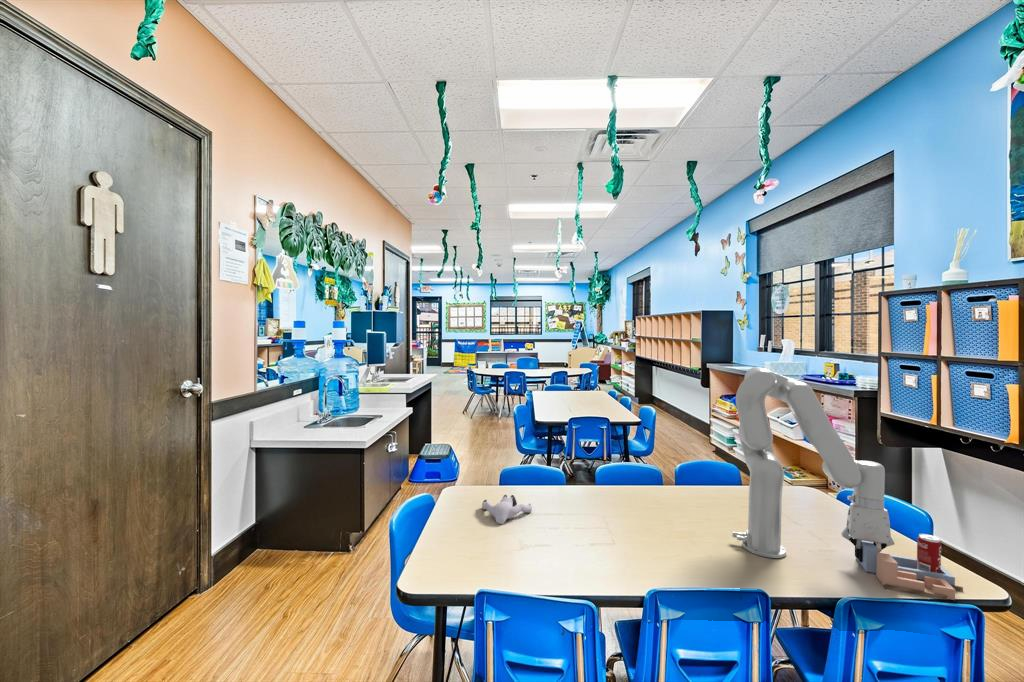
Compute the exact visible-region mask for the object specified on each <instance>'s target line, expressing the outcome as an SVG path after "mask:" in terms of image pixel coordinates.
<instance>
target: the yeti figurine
mask: <svg viewBox="0 0 1024 682" xmlns="http://www.w3.org/2000/svg"><path fill="white" fill-rule="evenodd" d="M481 508H482V509H483V510H487V511H488V513H489V515H490V516H492V517H494V518H495V523H496V524H498V525H503V524H504V523H505V522H506V521H507V520H510V519H512V518H514V517H515V516H517V515H518V514H519V513H521V512H522V513H524V514H531V512H532V511H533V510H532V505H531V503H528V504H523V503H520V504H518V502H517V499H516V497H515V495H513V494H511V495H510V496H509V497H508V495H507V494H504V495H503V497H502V498H501V500H500V501H499V502H498V503H497V504H495V505H493V504H492V503H490V502H489V501H487V499H484V500H483V502H482V503H481Z"/></svg>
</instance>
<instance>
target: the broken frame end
mask: <svg viewBox="0 0 1024 682" xmlns="http://www.w3.org/2000/svg"><path fill="white" fill-rule="evenodd" d="M924 583H925V589H931V593H936V594H941V595H946V596H947V600H953V601H956V590H955V589H954V588H953V587H952V586H951V585H950V584H949V583H948V582H947V581H945V580H944V579H939V578H934V577H928V576H924Z"/></svg>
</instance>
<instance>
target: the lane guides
mask: <svg viewBox="0 0 1024 682" xmlns="http://www.w3.org/2000/svg"><path fill="white" fill-rule="evenodd" d="M917 580H918V581H923V582H924V580H921V579H917ZM883 586H884V589H887V590H891V591H896V592H903V593H907V594H912V595H917V596H923V597H928V598H934V599H939V600H945V601H948V599H947V596H946V595H941V594H936V593H932V592H930V591H929V592H928V591H925V590H924V591H920V590H914V589H909V588H903V587H898V586H893V585H887V584H885V585H883ZM951 586H952V587H953V588H954V589H955V591H959V590H961V591H960V592H964V587H963V586H959V585H951Z"/></svg>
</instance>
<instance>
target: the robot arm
mask: <svg viewBox="0 0 1024 682" xmlns="http://www.w3.org/2000/svg"><path fill="white" fill-rule="evenodd" d="M766 397H770V398H772V399H775V400H778V401H780V402H783V403H785V404H786V405H787V406H788V408H789V410H790V412H791V414H792V416H793V417H794V419H795V421H796V423H797V425H798V427H799V429H800V430H801V432H802V434H803V436H804V437H805V438H806V440H807V441H808V442H809V444H811V445H812V447H813V448H814V449H815V450H816V451H817V453H818V455H819V456H820V457H821V459H822V460H823V462H822V463H821V469H822V471H823V473H824V474H825V475H826V476H827V477H828V478H829V479H830V480H831V481H833V483H835V484H836V485H837V486H839V487H841V488H844V489H853V490H852V491H853V492H852V494H851V495H847V500H848V501H850V502H851V503H850V504H849V507H848V510H847V511H848V512H847V515H846V516H847V519H846V527H845V528H844V529H843V530H842V532H841V536H842V537H843V538H844V539H846V540H848V541H849V542H850V543H852V544H853V546H854V557H855V559H856V558H857V559H858V560H859V561H858V560H857V559H856V560H857V561H858V563H859V562H863V550H862V548H861V543H862V540H864V541H870V542H872V543H873V544H874V545H875V546H876V547H877V549H878V550H879V553H882V550H884V549H885V548H887V547H891V546H894V545H895V544H896V543H895V541H894V540H893V538H892V536H891V523H890V516H889V512H888V509H886V508H885V483H886V482H885V481H886V479H885V477H886V470H885V467H884V465H882V463H879V462H876V461H872V460H863V459H862V460H856V459H854V457H853V455H852V454H851V452H850V450H849V449H848V446H847V445H846V444H845V443H844V440H842V438H841V436H840V435H839V433H838V431H837V430H836V428H835V427H834V426H833V424H832V422H831V421H830V419H829V417H828V415H827V413H826V411H825V409H824V408H823V406H822V403H821V402H820V399H819V398H818V397H817V395H816V393H815V390H813V388H812V387H811V386H810V385H809V384H808V383H806V382H803V381H800V380H796V379H793V378H790V377H787V376H784V375H782V374H780V373H776V372H774V371H771V370H770V369H768V368H764V367H762V366H761V367H760V366H756V367H752V368H749V369H748V370H747V371H746V372H745V375H744V380H742V382H741V383H740V385H739V386H738V389H737V391H736V394H735V406H736V407H735V408H736V412H737V418H738V420H739V426H738V431H737V432H738V438H739V441H740V445H741V450H742V452H743V456H744V457H743V458H744V460H745V464H746V466H747V468H748V470H749V483H748V484H749V486H748V515H747V516H748V517H747V529H746V530H745V531H743V532H738V531H735V530H732V535H731V536H732V538H736V540H737V541H742V543H741V544H742V545H741V546H742V547H743V548H744V549H745V550H747V551H748V552H749V553H751V554H754V555H757V556H758V557H759V556H760V557H764V558H769V559H780V558H784V557H785V556H786V555H787V550H786V548H785V547H784V546H783V545H781V543H782V541H781V540H782V507H783V506H782V505H783V504H782V503H783V502H782V501H783V489H784V487H783V486H784V481H785V471H784V468H783V465H782V463H781V461H780V460H779V459H778V458H777V456H775V451H774V448H773V445H772V444H773V441H774V434H773V431H772V428H771V425H770V422H769V418H768V414H767V409H766V402H765V401H766Z"/></svg>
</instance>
